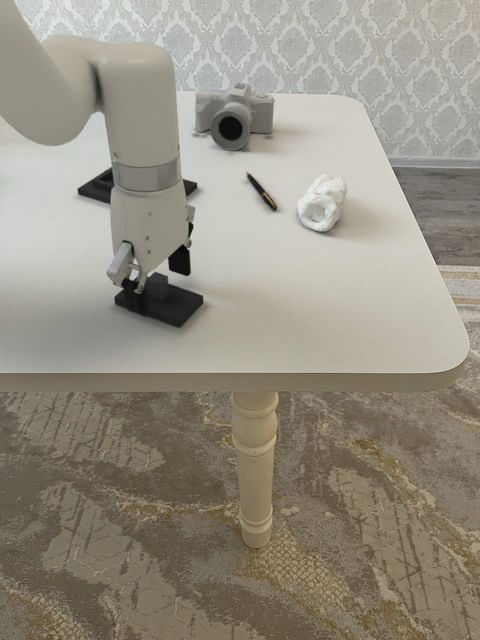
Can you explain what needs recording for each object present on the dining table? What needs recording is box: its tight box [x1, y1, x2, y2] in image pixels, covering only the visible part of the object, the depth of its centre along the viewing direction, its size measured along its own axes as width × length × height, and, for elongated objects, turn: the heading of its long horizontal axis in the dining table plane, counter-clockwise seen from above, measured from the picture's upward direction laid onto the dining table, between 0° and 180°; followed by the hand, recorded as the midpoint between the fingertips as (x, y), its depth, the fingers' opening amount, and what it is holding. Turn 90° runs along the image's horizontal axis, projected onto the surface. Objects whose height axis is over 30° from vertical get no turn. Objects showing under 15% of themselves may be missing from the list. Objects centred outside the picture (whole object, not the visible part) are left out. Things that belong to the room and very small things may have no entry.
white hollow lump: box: [295, 173, 348, 232], centre depth 95 cm, size 9×12×8 cm
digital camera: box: [194, 82, 276, 152], centre depth 116 cm, size 17×14×10 cm
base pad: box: [77, 166, 198, 205], centre depth 100 cm, size 16×12×2 cm
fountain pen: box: [245, 171, 278, 211], centre depth 101 cm, size 14×1×2 cm, turn 22°
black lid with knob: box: [113, 271, 204, 329], centre depth 77 cm, size 10×6×4 cm, turn 64°
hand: (160, 291), depth 77 cm, fingers open, 9 cm apart
